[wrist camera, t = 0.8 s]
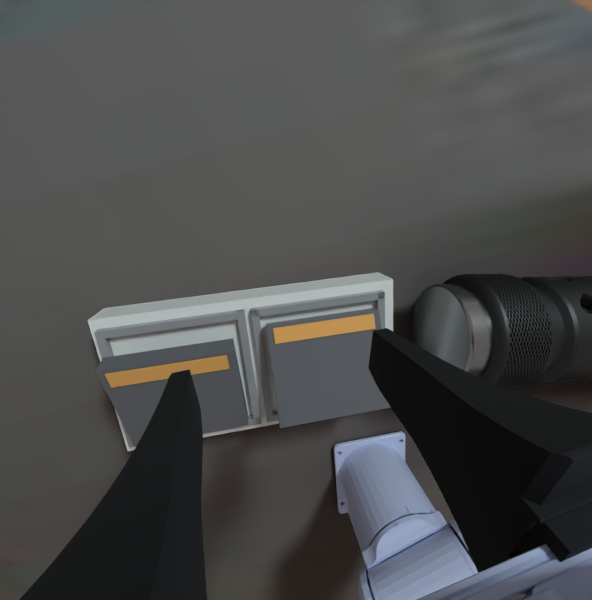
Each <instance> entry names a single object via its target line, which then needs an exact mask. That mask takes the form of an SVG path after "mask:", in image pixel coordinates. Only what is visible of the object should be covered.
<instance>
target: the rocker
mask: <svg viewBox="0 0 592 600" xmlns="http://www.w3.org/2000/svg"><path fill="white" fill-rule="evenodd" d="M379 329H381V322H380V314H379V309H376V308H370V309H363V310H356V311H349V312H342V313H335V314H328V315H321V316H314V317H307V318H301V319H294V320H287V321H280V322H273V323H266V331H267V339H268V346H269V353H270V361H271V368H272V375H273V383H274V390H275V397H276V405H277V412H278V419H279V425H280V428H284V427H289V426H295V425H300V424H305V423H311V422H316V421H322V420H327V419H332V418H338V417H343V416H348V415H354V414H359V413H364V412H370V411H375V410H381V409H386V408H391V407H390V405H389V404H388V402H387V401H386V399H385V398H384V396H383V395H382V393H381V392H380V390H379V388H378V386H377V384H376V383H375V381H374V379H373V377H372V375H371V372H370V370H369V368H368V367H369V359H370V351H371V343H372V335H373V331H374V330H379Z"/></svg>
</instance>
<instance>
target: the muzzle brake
mask: <svg viewBox="0 0 592 600" xmlns="http://www.w3.org/2000/svg"><path fill="white" fill-rule="evenodd" d="M412 337H413V343H414V344H416V345H417V346H419V347H421V348H423V349H424V350H426V351H428V352H430V353H431V354H433V355H435V356H437V357H439V358H440V359H442V360H444V361H446V362H448V363H450V364H452V365H454V366H456V367H458V368H460V369H462V370H464V371H466V372H468V373H470V374H473V375H475V376H477V377H480V378H482V379H484V380H487V381H489V382H491V383H494V384H496V385H499V386H502V387H504V388H507V389H510V390H513V389H519V388H523V387H526V386H528V385H530V384H532V383H536V384H545V383H557V382H573V381H587V380H592V276H584V277H524V278H517V277H514V276H511V275H504V274H464V275H457V276H455V277H452V278H450V279H448V280H447V281H445V282H444V283H443V284H435V285H432V286H430V287H428V288H427V289H426V290H424V291H423V292H422V294H421V295H420V296H419V298H418V300H417V302H416V304H415V307H414V310H413V315H412Z"/></svg>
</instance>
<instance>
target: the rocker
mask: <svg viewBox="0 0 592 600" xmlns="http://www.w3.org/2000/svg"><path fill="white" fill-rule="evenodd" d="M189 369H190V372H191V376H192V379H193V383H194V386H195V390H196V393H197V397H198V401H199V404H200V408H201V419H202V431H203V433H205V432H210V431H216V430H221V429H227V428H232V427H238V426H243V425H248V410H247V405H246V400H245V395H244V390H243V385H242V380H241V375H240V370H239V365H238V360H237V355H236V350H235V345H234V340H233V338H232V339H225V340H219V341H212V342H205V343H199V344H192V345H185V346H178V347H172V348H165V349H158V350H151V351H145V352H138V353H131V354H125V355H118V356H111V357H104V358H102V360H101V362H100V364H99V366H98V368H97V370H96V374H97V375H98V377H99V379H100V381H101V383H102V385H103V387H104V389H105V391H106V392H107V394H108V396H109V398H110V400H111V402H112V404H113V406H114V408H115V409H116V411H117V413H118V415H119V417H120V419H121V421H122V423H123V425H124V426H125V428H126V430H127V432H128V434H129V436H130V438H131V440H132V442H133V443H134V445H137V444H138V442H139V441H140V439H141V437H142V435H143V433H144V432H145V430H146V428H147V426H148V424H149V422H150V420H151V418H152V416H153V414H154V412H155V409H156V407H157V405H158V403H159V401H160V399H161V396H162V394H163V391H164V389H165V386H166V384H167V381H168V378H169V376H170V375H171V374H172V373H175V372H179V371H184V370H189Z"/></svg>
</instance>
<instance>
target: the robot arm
mask: <svg viewBox="0 0 592 600" xmlns="http://www.w3.org/2000/svg"><path fill="white" fill-rule="evenodd" d="M368 368H369V370H370V372H371V375H372V377H373V379H374V381H375V383H376V384H377V386H378V388H379V390H380V392H381V393H382V395H383V396H384V398H385V399H386V401H387V402H388V404H389V405H390V407H391V408H392V409H393V411H394V412H395V414H396V415H397V417H398V418H399V420H400V421H401V423H402V424H403V426H404V427H405V428H406V430H407V431H408V433H409V434H410V436H411V437H412V439H413V441H414V442H415V444H416V445H417V447H418V449H419V451H420V452H421V454H422V456H423V458H424V460H425V462H426V463H427V465H428V467H429V469H430V471H431V473H432V475H433V477H434V478H435V480H436V482H437V484H438V486H439V488H440V490H441V492H442V494H443V496H444V498H445V500H446V502H447V504H448V506H449V508H450V510H451V513H452V515H453V517H454V519H455V520H452V521H450V522H449V526H450V527H449V526H448V524H447V522H446V521H445V519H444V518H443V516H442V515H441V513H440V512H439V511H436V510H435V508H434V507H433V505H432V504H431V502H430V501H429V499H428V497H427V496H426V494H425V493H424V491H423V490H422V488H421V486H420V485H419V483H418V482H417V480H416V478H415V477H414V475H413V474H412V472H411V471H410V469H409V467H408V466H407V464H406V463H405V434H404V433H403V432H401V431H400V432H395V433H390V434H385V435H380V436H374V437H369V438H364V439H359V440H354V441H349V442H344V443H339V444H336V445H335V446H334V462H335V475H336V489H337V503H338V511H339V513H341V514H344V513H348V514H349V517H350V520H351V523H352V526H353V528H354V531H355V534H356V537H357V540H358V543H359V546H360V549H361V552H362V556H363V559H364V562H365V564H366V567H367V568H364V569H363V570H361V571H360V573H359V580H358V593H359V598H360V600H517V599H519V598H521V597H523V596H525V599H524V600H592V413H588V412H584V411H580V410H576V409H571V408H567V407H563V406H560V405H556V404H553V403H550V402H546V401H543V400H539V399H536V398H533V397H530V396H527V395H524V394H521V393H518V392H515V391H513V390H510V389H507V388H504V387H502V386H499V385H496V384H494V383H491V382H489V381H487V380H484V379H482V378H480V377H477V376H475V375H473V374H470V373H468V372H466V371H464V370H462V369H460V368H458V367H456V366H454V365H452V364H450V363H448V362H446V361H444V360H442V359H440V358H439V357H437V356H435V355H433V354H431V353H430V352H428V351H426V350H424V349H423V348H421V347H419V346H417V345H416V344H414V343H412V342H410V341H409V340H407V339H405V338H404V337H402V336H400V335H398V334H397V333H395V332H393V331H391V330H389V329H388V328H384V329H379V330H374V331H373V335H372V343H371V351H370V359H369V367H368ZM399 440H400V441H399ZM202 447H203V431H202V419H201V408H200V404H199V401H198V397H197V393H196V390H195V386H194V383H193V379H192V376H191V372H190V369H189V370H184V371H179V372H175V373H172V374H171V375H170V376H169V378H168V381H167V384H166V386H165V389H164V391H163V394H162V396H161V399H160V401H159V403H158V405H157V407H156V409H155V412H154V414H153V416H152V418H151V420H150V422H149V424H148V426H147V428H146V430H145V432H144V433H143V435H142V437H141V439H140V441H139V442H138V444H137V446H136V448H135V450H134V451H133V453H132V455H131V456H130V458H129V460H128V461H127V463H126V465H125V466H124V468H123V469H122V471H121V472H120V474H119V476H118V477H117V479H116V480H115V482H114V483H113V485H112V486H111V487H110V489H109V490H108V492H107V493H106V495H105V496H104V497H103V499H102V500H101V502H100V503H99V504H98V506H97V507H96V509H95V510H94V511H93V513H92V514H91V515H90V517H89V518H88V519H87V521H86V522H85V523H84V524H83V526H82V527H81V528H80V529H79V531H78V532H77V533H76V534H75V536H74V537H73V538H72V539H71V540H70V542H69V543H68V544H67V545H66V547H65V548H64V549H63V550H62V552H61V553H60V554H59V555H58V557H57V558H56V559H55V560H54V561H53V563H52V564H51V565H50V566H49V567H48V568H47V570H46V571H45V572H44V573H43V574H42V575H41V576H40V577H39V578H38V580H37V581H36V582H35V583H34V584H33V585H32V586H31V587H30V589H29V590H28V591H27V592H26V593H25V594H24V595H23V596H22V597H21V599H20V600H207V593H206V580H205V566H204V552H203V536H202V520H201V481H202ZM338 452H340V453H338ZM341 502H342V503H341Z"/></svg>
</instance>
